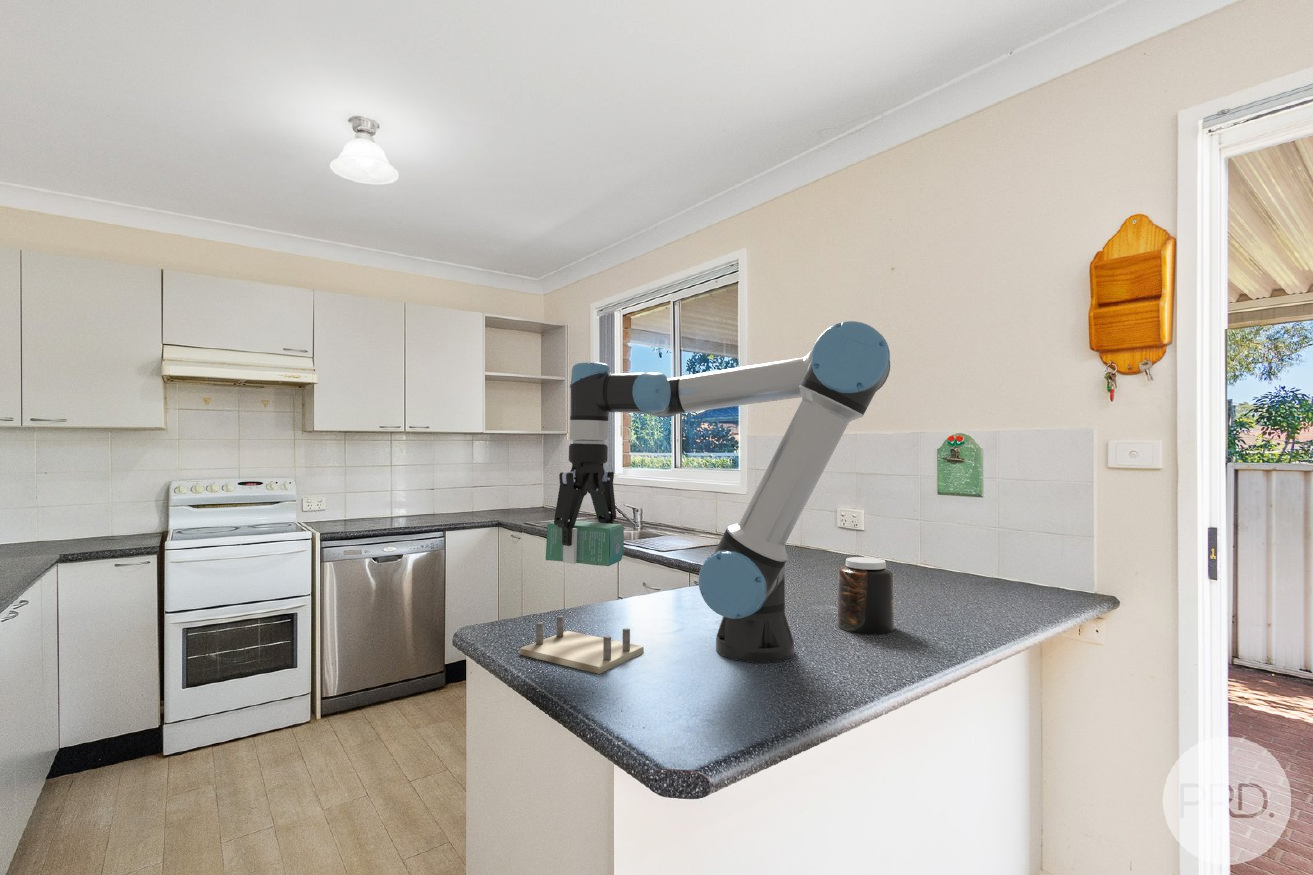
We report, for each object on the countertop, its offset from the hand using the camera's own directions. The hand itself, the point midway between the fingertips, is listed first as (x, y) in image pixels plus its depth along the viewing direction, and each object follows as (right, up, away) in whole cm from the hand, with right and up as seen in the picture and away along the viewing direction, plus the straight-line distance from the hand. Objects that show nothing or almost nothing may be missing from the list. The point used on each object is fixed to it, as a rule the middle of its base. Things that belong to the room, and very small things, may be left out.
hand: (585, 559), depth 123 cm
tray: (0, -18, -1) cm, 18 cm away
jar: (+60, -19, +18) cm, 66 cm away
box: (0, -1, 0) cm, 1 cm away
